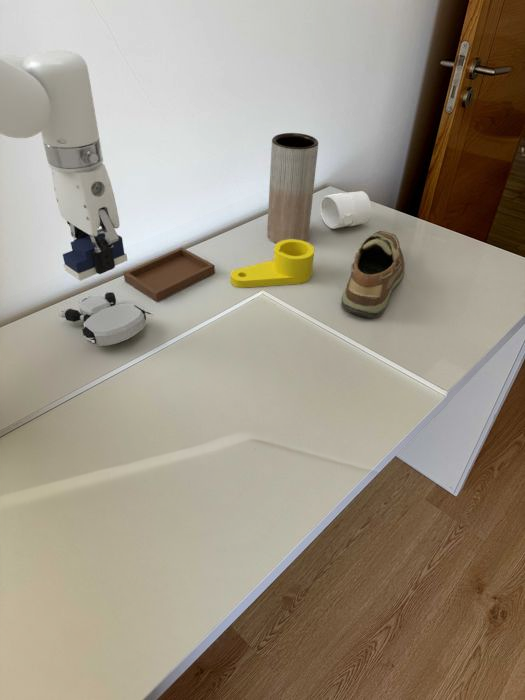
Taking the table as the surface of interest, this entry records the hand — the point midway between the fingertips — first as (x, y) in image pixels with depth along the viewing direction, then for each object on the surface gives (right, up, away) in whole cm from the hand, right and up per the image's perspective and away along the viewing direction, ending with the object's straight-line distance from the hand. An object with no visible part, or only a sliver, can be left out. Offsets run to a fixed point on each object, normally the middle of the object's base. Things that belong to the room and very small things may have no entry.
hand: (96, 263), depth 86 cm
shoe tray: (+8, +1, +25) cm, 26 cm away
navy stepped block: (0, 0, 0) cm, 0 cm away
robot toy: (-1, -10, +11) cm, 15 cm away
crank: (+29, +1, +27) cm, 40 cm away
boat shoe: (+51, 0, +26) cm, 57 cm away
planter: (+33, +13, +41) cm, 55 cm away
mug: (+47, +18, +48) cm, 70 cm away
